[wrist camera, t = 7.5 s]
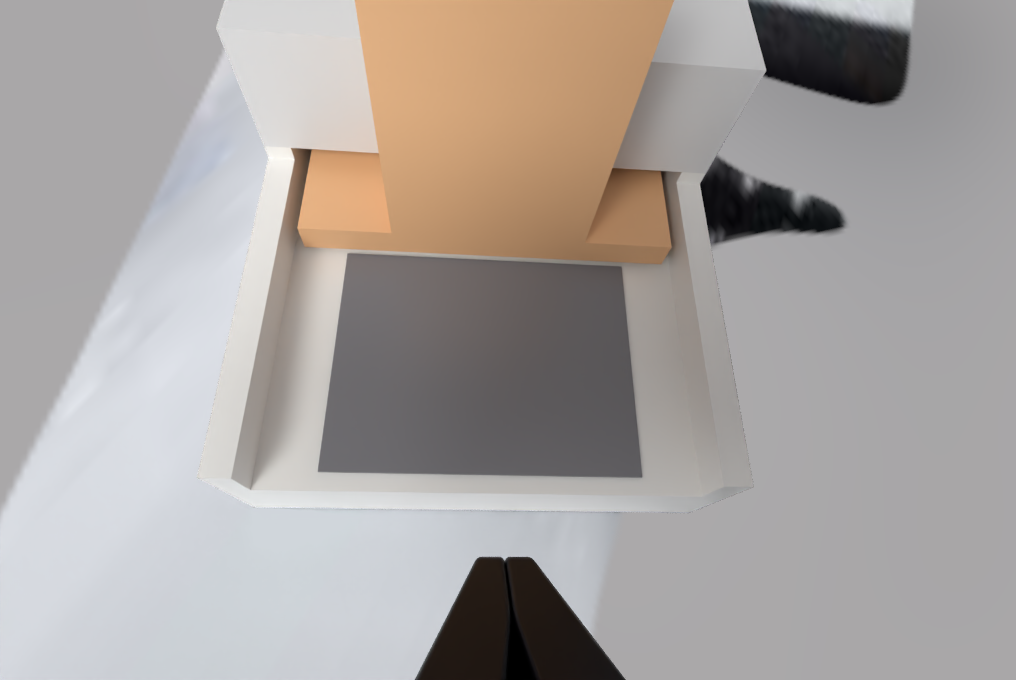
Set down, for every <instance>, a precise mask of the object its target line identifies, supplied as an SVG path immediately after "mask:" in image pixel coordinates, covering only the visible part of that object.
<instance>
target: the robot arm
mask: <svg viewBox="0 0 1016 680" xmlns="http://www.w3.org/2000/svg"><path fill="white" fill-rule="evenodd" d="M415 680H625V678H624V677H623V676H622V674H621V673H620V672H619V670H618V669H617V668H616V667H615V665H614V664H613V663H612V661H611V660H610V659H609V657H608V656H607V655H606V654H605V652H604V651H603V650H602V648H601V647H600V646H599V644H598V643H597V642H596V641H595V639H594V638H593V637H592V635H591V634H590V633H589V631H588V630H587V629H586V627H585V626H584V625H583V624H582V622H581V621H580V620H579V618H578V617H577V616H576V614H575V613H574V612H573V611H572V609H571V608H570V607H569V605H568V604H567V603H566V601H565V600H564V599H563V598H562V596H561V595H560V594H559V592H558V591H557V590H556V588H555V587H554V586H553V584H552V583H551V582H550V581H549V579H548V578H547V577H546V575H545V574H544V573H543V571H542V570H541V569H540V568H539V566H538V565H537V564H536V562H535V561H534V560H533V559H532V558H530V557H508V558H506V560H505V561H504V560H503V558H501V557H479V558H477V559H476V561H475V563H474V564H473V566H472V568H471V570H470V572H469V574H468V576H467V578H466V580H465V582H464V584H463V586H462V588H461V590H460V592H459V594H458V596H457V598H456V600H455V602H454V604H453V606H452V608H451V610H450V612H449V614H448V616H447V618H446V620H445V622H444V623H443V625H442V627H441V629H440V631H439V633H438V635H437V637H436V639H435V641H434V643H433V645H432V647H431V649H430V651H429V653H428V655H427V657H426V659H425V661H424V663H423V665H422V667H421V669H420V671H419V673H418V675H417V677H416V679H415Z"/></svg>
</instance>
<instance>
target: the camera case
mask: <svg viewBox="0 0 1016 680" xmlns="http://www.w3.org/2000/svg"><path fill="white" fill-rule="evenodd" d="M216 29H217V31H218V34H219V36H220V39H221V41H222V43H223V46H224V49H225V51H226V54H227V56H228V59H229V61H230V63H231V66H232V68H233V71H234V73H235V76H236V78H237V81H238V83H239V86H240V88H241V91H242V93H243V96H244V98H245V101H246V103H247V106H248V108H249V111H250V113H251V116H252V118H253V120H254V123H255V125H256V128H257V130H258V133H259V135H260V138H261V140H262V143H263V145H264V148H265V150H266V153H267V155H268V162H267V167H266V171H265V175H264V180H263V184H262V189H261V193H260V198H259V202H258V207H257V211H256V216H255V220H254V225H253V229H252V234H251V238H250V242H249V247H248V251H247V256H246V260H245V265H244V269H243V274H242V278H241V283H240V287H239V292H238V296H237V301H236V305H235V309H234V314H233V318H232V323H231V327H230V332H229V336H228V341H227V345H226V350H225V354H224V359H223V363H222V368H221V372H220V376H219V381H218V385H217V390H216V394H215V399H214V403H213V408H212V412H211V417H210V421H209V426H208V430H207V435H206V439H205V443H204V448H203V452H202V457H201V461H200V466H199V470H198V475H197V478H198V479H200V480H201V481H203V482H205V483H207V484H209V485H211V486H213V487H215V488H217V489H219V490H221V491H223V492H225V493H227V494H229V495H231V496H233V497H235V498H237V499H238V500H240V501H242V502H244V503H246V504H248V505H250V506H252V507H256V508H337V509H419V510H500V511H581V512H662V513H664V512H666V513H669V512H670V513H690V512H693V511H695V510H698V509H700V508H703V507H705V506H708V505H710V504H713V503H715V502H718V501H720V500H723V499H725V498H728V497H730V496H733V495H735V494H737V493H740V492H743V491H745V490H748V489H750V488H753V487H754V485H753V480H752V474H751V468H750V464H749V457H748V452H747V446H746V440H745V435H744V429H743V424H742V418H741V412H740V407H739V401H738V396H737V390H736V384H735V379H734V373H733V368H732V362H731V356H730V351H729V345H728V340H727V334H726V328H725V323H724V317H723V311H722V306H721V300H720V295H719V290H718V283H717V278H716V272H715V266H714V261H713V255H712V250H711V244H710V238H709V233H708V227H707V222H706V216H705V210H704V205H703V199H702V194H701V188H700V183H701V181H702V179H703V177H704V176H705V174H706V172H707V171H708V169H709V167H710V166H711V164H712V162H713V160H714V159H715V157H716V155H717V154H718V152H719V150H720V148H721V147H722V145H723V143H724V142H725V140H726V138H727V137H728V135H729V133H730V131H731V130H732V128H733V126H734V125H735V123H736V121H737V120H738V118H739V116H740V114H741V113H742V111H743V109H744V107H745V106H746V104H747V102H748V101H749V99H750V97H751V95H752V94H753V92H754V90H755V89H756V87H757V85H758V84H759V82H760V80H761V79H762V77H763V75H764V74H765V72H766V68H765V64H764V60H763V57H762V53H761V49H760V46H759V42H758V38H757V34H756V31H755V27H754V23H753V19H752V16H751V12H750V8H749V4H748V1H747V0H674V2H673V5H672V8H671V10H670V13H669V16H668V18H667V21H666V24H665V27H664V29H663V32H662V35H661V38H660V40H659V43H658V46H657V48H656V51H655V54H654V57H653V59H652V62H651V65H650V67H649V70H648V73H647V76H646V78H645V81H644V84H643V86H642V89H641V92H640V95H639V97H638V100H637V103H636V105H635V108H634V111H633V114H632V116H631V119H630V122H629V124H628V127H627V130H626V133H625V135H624V138H623V141H622V144H621V146H620V149H619V152H618V154H617V157H616V160H615V163H614V165H613V168H623V169H639V170H655V171H661V177H662V183H663V190H664V197H665V204H666V211H667V218H668V225H669V232H670V239H671V246H672V248H671V249H670V251H669V253H668V254H667V256H666V258H665V259H664V261H663V262H662V264H645V263H624V262H604V261H583V260H563V259H542V258H521V257H501V256H480V255H460V254H439V253H419V252H398V251H377V250H357V249H336V248H316V247H305V246H304V244H303V241H302V239H301V236H300V234H299V231H298V229H297V227H298V221H299V216H300V210H301V205H302V200H303V194H304V189H305V183H306V178H307V172H308V167H309V162H310V156H311V151H312V149H318V150H334V151H350V152H366V153H379V152H378V145H377V139H376V133H375V126H374V120H373V114H372V107H371V101H370V95H369V88H368V82H367V75H366V69H365V63H364V56H363V50H362V44H361V37H360V31H359V25H358V18H357V12H356V6H355V0H224V4H223V7H222V10H221V13H220V17H219V20H218V23H217V26H216Z"/></svg>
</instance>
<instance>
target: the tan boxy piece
mask: <svg viewBox="0 0 1016 680" xmlns="http://www.w3.org/2000/svg"><path fill="white" fill-rule="evenodd" d="M673 2H674V0H355V6H356V12H357V18H358V25H359V31H360V37H361V44H362V50H363V56H364V63H365V69H366V75H367V82H368V88H369V95H370V101H371V107H372V114H373V120H374V126H375V133H376V139H377V145H378V152H379V153H366V152H350V151H334V150H318V149H312V151H311V156H310V162H309V167H308V172H307V178H306V183H305V189H304V194H303V200H302V205H301V210H300V216H299V221H298V227H297V229H298V231H299V234H300V236H301V239H302V241H303V244H304V246H305V247H316V248H336V249H357V250H377V251H398V252H419V253H439V254H460V255H480V256H501V257H521V258H542V259H563V260H583V261H604V262H624V263H645V264H662V262H663V261H664V259H665V258H666V256H667V254H668V253H669V251H670V249H671V248H672V246H671V239H670V232H669V225H668V218H667V211H666V204H665V197H664V190H663V183H662V177H661V171H655V170H639V169H623V168H613V165H614V163H615V160H616V157H617V154H618V152H619V149H620V146H621V144H622V141H623V138H624V135H625V133H626V130H627V127H628V124H629V122H630V119H631V116H632V114H633V111H634V108H635V105H636V103H637V100H638V97H639V95H640V92H641V89H642V86H643V84H644V81H645V78H646V76H647V73H648V70H649V67H650V65H651V62H652V59H653V57H654V54H655V51H656V48H657V46H658V43H659V40H660V38H661V35H662V32H663V29H664V27H665V24H666V21H667V18H668V16H669V13H670V10H671V8H672V5H673Z"/></svg>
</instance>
